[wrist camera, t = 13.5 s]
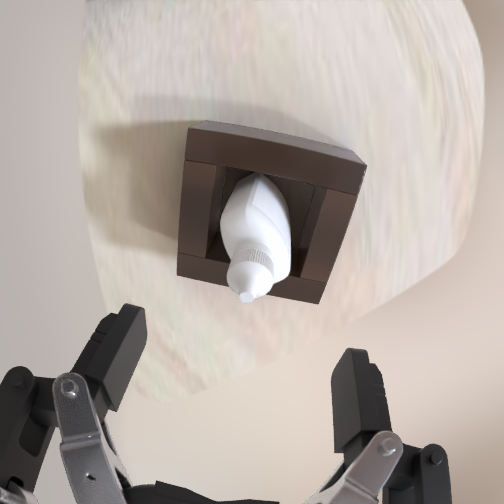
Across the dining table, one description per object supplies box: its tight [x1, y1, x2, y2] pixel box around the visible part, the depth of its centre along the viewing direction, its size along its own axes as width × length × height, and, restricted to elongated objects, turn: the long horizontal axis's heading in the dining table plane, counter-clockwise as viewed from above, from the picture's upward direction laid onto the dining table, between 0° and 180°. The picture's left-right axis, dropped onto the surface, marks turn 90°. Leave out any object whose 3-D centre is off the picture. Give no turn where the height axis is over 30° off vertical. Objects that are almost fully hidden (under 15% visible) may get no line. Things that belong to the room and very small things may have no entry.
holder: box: [177, 121, 367, 304], centre depth 22 cm, size 12×12×4 cm
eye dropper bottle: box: [220, 172, 291, 304], centre depth 19 cm, size 4×6×12 cm
